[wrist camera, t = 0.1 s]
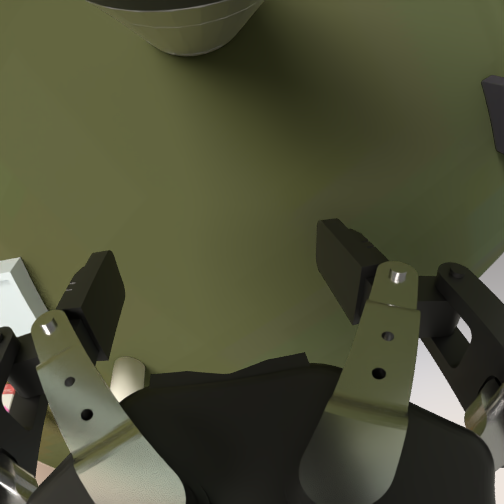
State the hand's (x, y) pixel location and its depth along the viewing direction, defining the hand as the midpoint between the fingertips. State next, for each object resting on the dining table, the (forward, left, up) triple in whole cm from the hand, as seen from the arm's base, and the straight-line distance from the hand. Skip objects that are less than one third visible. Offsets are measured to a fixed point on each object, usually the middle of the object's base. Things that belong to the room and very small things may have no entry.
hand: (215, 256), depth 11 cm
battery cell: (+29, -16, -17) cm, 37 cm away
